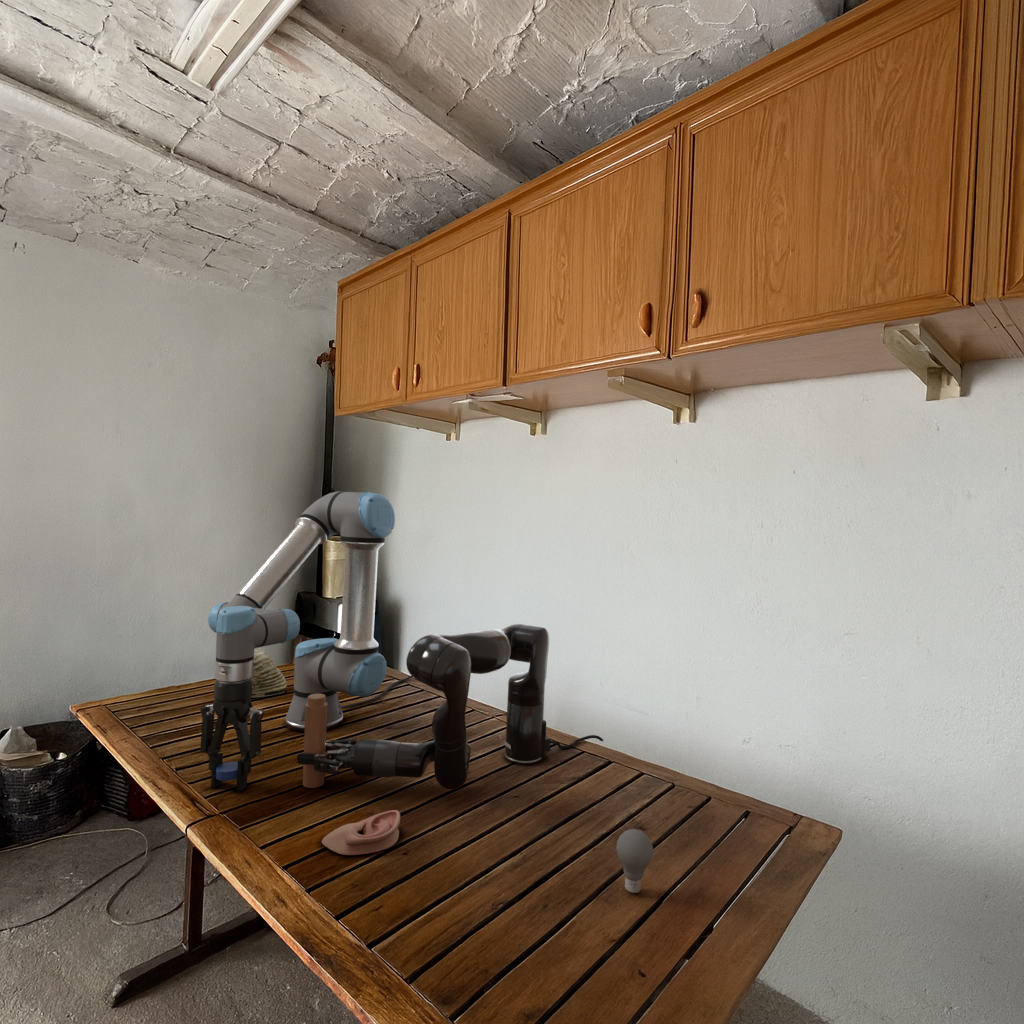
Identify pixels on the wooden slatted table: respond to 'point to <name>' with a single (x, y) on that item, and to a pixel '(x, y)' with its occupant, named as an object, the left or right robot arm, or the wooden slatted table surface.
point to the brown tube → (314, 737)
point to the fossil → (266, 676)
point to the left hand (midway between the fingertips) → (228, 786)
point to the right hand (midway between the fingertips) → (302, 753)
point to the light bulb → (634, 857)
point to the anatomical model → (365, 835)
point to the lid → (227, 771)
